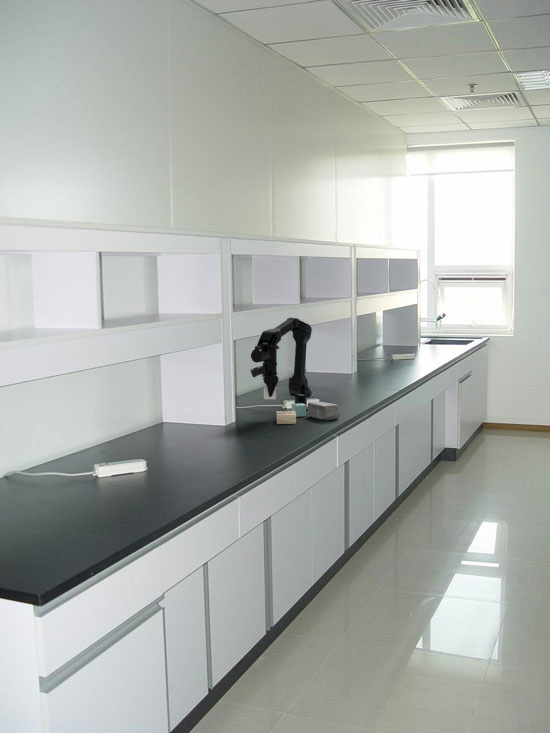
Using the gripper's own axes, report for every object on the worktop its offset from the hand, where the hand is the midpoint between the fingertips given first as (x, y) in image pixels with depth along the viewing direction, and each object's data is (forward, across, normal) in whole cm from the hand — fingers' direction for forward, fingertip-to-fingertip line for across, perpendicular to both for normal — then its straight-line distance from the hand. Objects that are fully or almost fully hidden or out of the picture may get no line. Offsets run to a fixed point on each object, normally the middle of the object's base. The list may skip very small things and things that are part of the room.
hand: (270, 395), depth 351 cm
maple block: (+10, +7, +6) cm, 14 cm away
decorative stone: (+10, +1, +23) cm, 25 cm away
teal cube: (+10, -6, +13) cm, 18 cm away
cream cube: (+1, 0, 0) cm, 1 cm away
